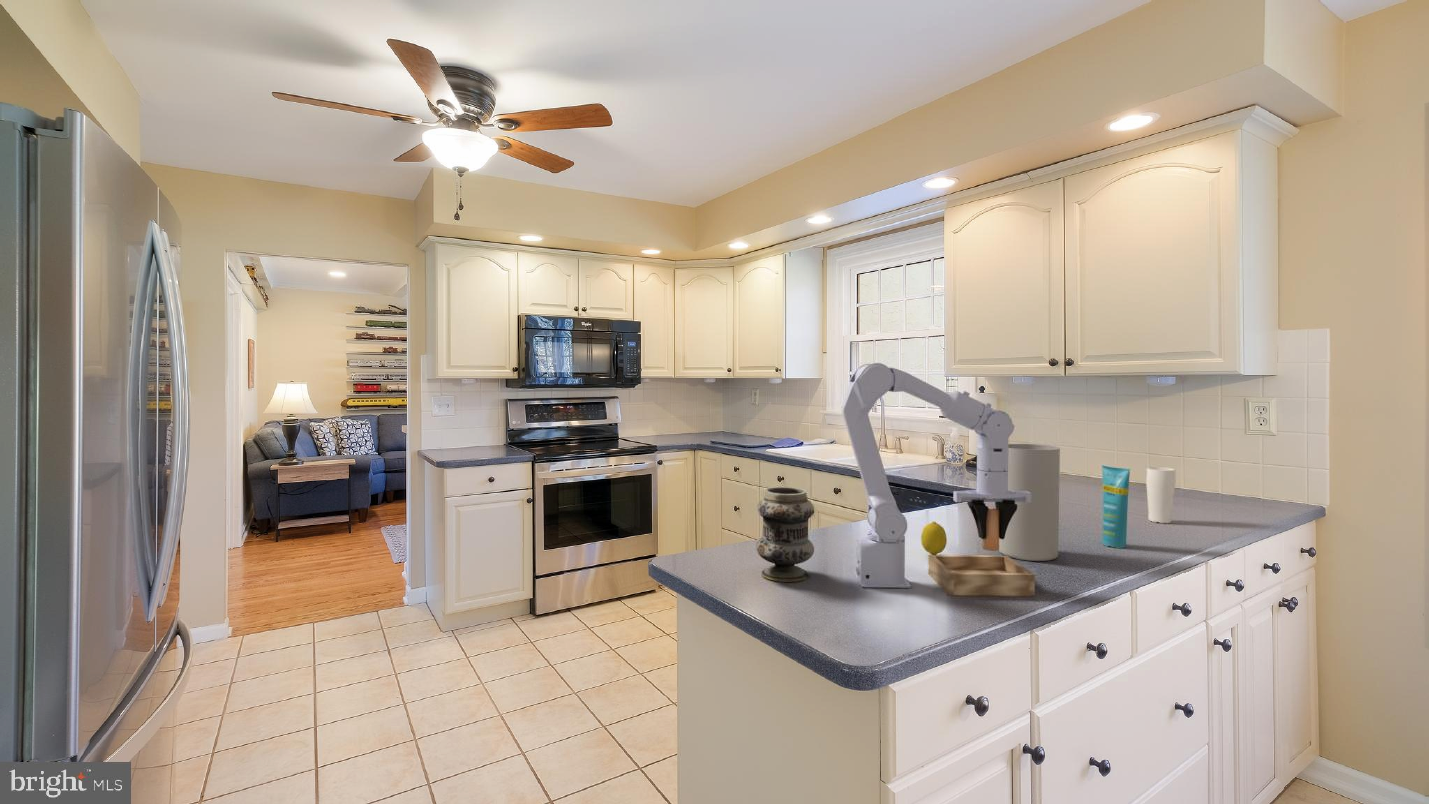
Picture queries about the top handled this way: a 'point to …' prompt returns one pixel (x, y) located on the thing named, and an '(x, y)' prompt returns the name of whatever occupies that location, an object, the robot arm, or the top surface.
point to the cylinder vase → (1033, 503)
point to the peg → (992, 530)
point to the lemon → (933, 538)
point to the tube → (1115, 505)
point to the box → (981, 575)
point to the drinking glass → (1160, 493)
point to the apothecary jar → (785, 533)
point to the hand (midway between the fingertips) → (991, 537)
